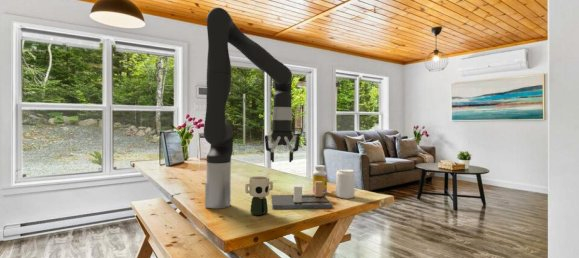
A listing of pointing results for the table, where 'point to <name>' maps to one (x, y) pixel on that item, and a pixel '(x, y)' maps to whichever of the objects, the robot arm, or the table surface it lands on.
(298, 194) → the block
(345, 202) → the table surface
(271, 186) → the character mug
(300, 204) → the board
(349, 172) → the beverage can
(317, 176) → the supplement bottle
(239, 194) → the table surface
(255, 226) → the table surface
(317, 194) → the terracotta fader
